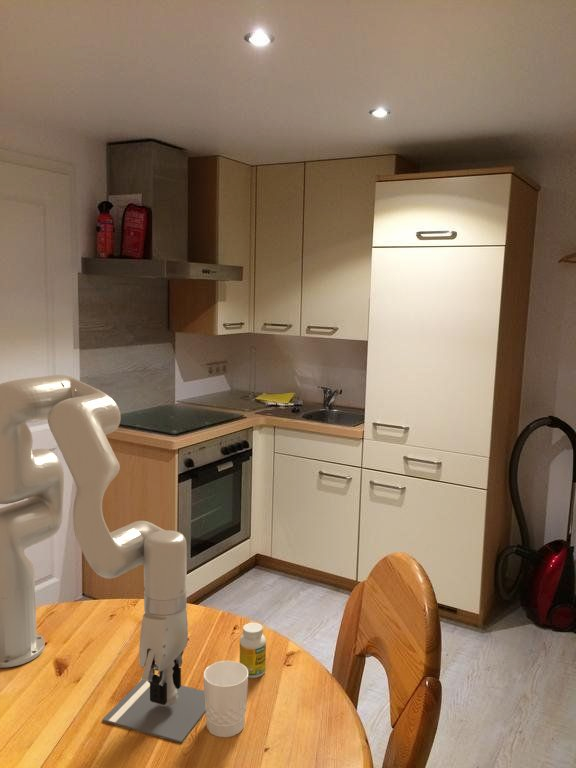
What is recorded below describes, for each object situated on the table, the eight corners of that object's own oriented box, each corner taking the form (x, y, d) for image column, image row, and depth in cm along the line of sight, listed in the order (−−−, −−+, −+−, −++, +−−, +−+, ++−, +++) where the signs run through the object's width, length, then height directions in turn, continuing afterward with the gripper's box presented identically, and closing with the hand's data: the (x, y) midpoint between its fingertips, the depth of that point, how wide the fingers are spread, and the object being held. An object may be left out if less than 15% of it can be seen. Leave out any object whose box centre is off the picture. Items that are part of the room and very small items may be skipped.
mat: (102, 721, 115) (102, 718, 115) (144, 678, 128) (144, 675, 128) (181, 743, 109) (181, 740, 109) (217, 696, 122) (217, 693, 122)
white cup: (207, 743, 109) (207, 689, 108) (200, 714, 117) (200, 663, 116) (252, 735, 112) (252, 682, 110) (242, 707, 119) (243, 657, 118)
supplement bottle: (248, 661, 134) (248, 618, 133) (270, 668, 132) (271, 624, 131) (234, 674, 130) (234, 629, 128) (256, 682, 127) (257, 636, 126)
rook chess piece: (172, 709, 115) (172, 668, 114) (149, 705, 116) (149, 664, 115) (181, 694, 120) (181, 654, 119) (159, 690, 121) (159, 651, 120)
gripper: (170, 578, 124) (170, 665, 127) (120, 618, 109) (121, 717, 111) (205, 584, 122) (204, 673, 125) (159, 626, 106) (159, 727, 109)
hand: (165, 693), depth 118 cm, fingers closed on rook chess piece, 4 cm apart
